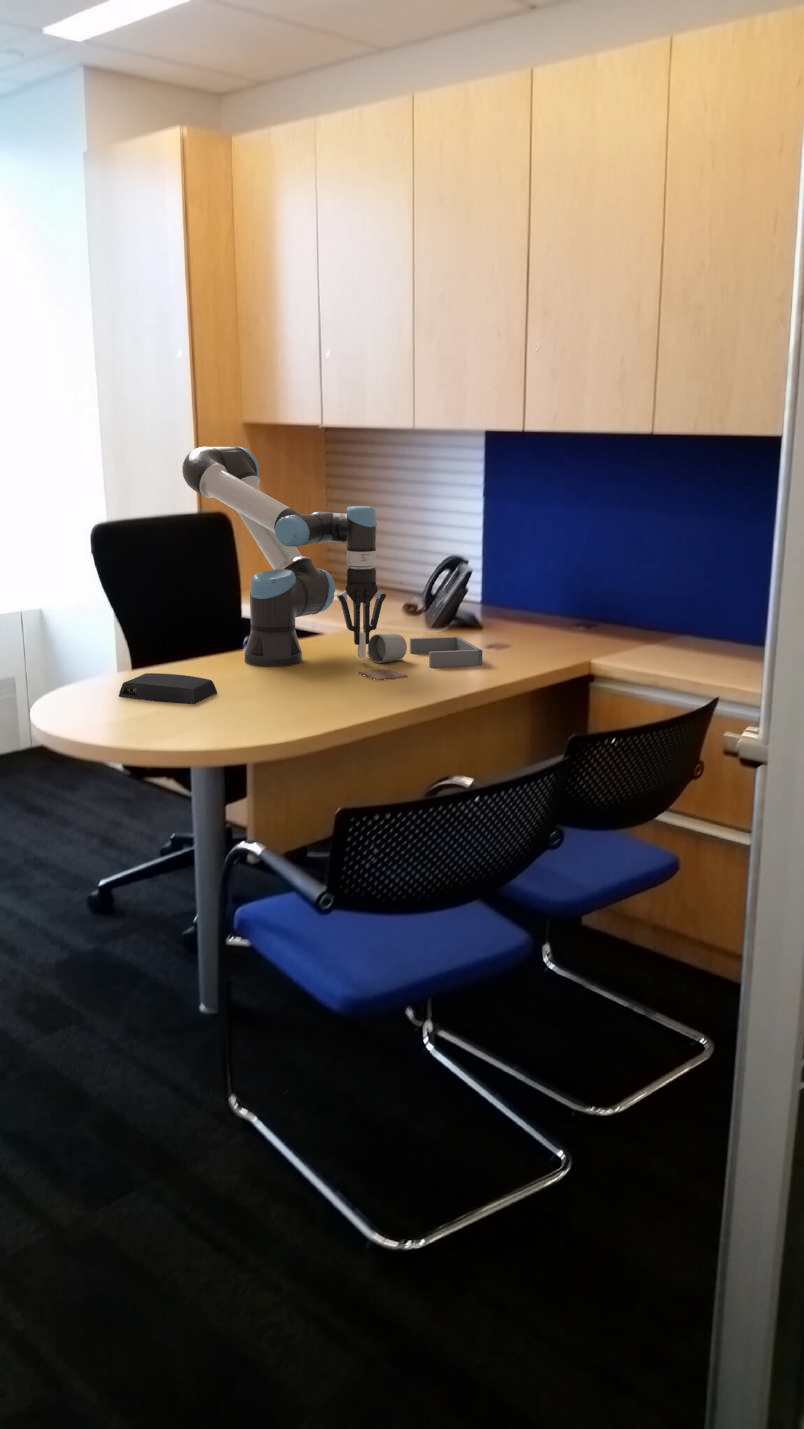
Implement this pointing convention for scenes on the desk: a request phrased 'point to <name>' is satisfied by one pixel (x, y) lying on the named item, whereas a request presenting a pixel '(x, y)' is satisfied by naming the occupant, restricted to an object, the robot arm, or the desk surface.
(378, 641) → the ceramic mug
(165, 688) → the external hard drive
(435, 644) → the grey c-shaped bracket
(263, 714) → the desk surface
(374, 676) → the walnut coaster
